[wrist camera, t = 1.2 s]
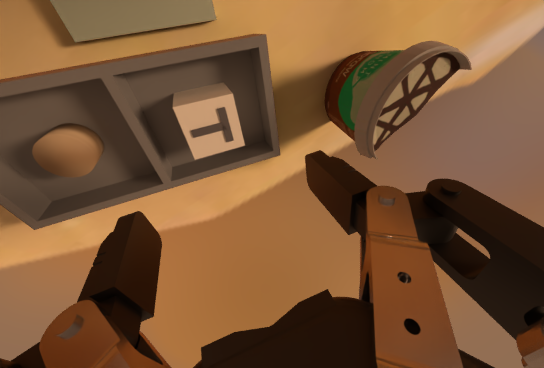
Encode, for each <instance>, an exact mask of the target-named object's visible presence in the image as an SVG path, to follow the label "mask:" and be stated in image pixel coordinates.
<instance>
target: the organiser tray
mask: <svg viewBox="0 0 544 368" xmlns="http://www.w3.org/2000/svg"><path fill="white" fill-rule="evenodd" d="M222 82H224V84H225V85H226V86H227V87H228V88H229V90H230V91H231V92H232V93H233V97H234V101H235V105H236V109H237V114H238V118H239V122H240V126H241V131H242V135H243V139H244V143H245V146H242V147H238V148H235V149H231V150H228V151H224V152H221V153H217V154H213V155H210V156H206V157H203V158H199V159H196V160H195V159H194V156H193V154H192V152H191V149H190V147H189V145H188V142H187V140H186V138H185V135H184V133H183V131H182V128H181V126H180V124H179V121H178V119H177V117H176V114H175V112H174V110H173V97H174V93H177V92H181V91H186V90H190V89H195V88H200V87H204V86H209V85H213V84H218V83H222ZM65 123H74V124H80V125H83V126H85V127H88V128H90V129H91V130H93V131H94V132H96V133H97V134H98V135H99V136H100V138H101V139H102V141H103V143H104V152H103V154H102V155H101V157H100V159H99V160H98V162H97V164H96V165H95V167H94V168H93V170H92V171H91V172H90V173H88V174H86V175H84V176H81V177H63V176H59V175H56V174H53V173H51V172H49V171H47V170H45V169H44V168H42V167H41V166H40V165H39V164H38V163H37V162H36V160H35V159H34V157H33V152H32V150H33V146H34V144H35V143H36V142H37V141H38V140H39V139H41V138H42V137H43V136H44V135H46V134H47V133H48V132H50V131H51V130H52V129H53V128H55V127H56V126H58V125H61V124H65ZM279 155H280V148H279V139H278V131H277V122H276V114H275V105H274V97H273V88H272V80H271V71H270V63H269V55H268V46H267V38H266V34H251V35H245V36H240V37H234V38H229V39H223V40H218V41H212V42H207V43H201V44H195V45H190V46H184V47H179V48H173V49H168V50H162V51H157V52H151V53H145V54H140V55H134V56H129V57H123V58H118V59H112V60H107V61H101V62H96V63H90V64H84V65H79V66H73V67H68V68H62V69H57V70H51V71H46V72H40V73H34V74H29V75H23V76H18V77H12V78H7V79H1V80H0V205H2V206H3V207H4V208H6V209H7V210H8V211H10V212H11V213H12V214H14V215H15V216H16V217H18V218H19V219H21V220H22V221H23V222H25V223H26V224H27V225H29V226H30V227H31V228H33V229H34V230H35V229H39V228H42V227H45V226H49V225H52V224H55V223H58V222H62V221H65V220H68V219H72V218H75V217H78V216H81V215H85V214H88V213H91V212H95V211H98V210H101V209H104V208H108V207H111V206H114V205H118V204H121V203H124V202H128V201H131V200H134V199H137V198H141V197H144V196H147V195H151V194H154V193H157V192H160V191H164V190H167V189H170V188H174V187H177V186H180V185H183V184H187V183H190V182H193V181H197V180H200V179H203V178H206V177H210V176H213V175H216V174H220V173H223V172H226V171H229V170H233V169H236V168H239V167H243V166H246V165H249V164H252V163H256V162H259V161H262V160H266V159H269V158H272V157H276V156H279Z"/></svg>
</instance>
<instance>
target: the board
mask: <svg viewBox="0 0 544 368" xmlns="http://www.w3.org/2000/svg"><path fill="white" fill-rule="evenodd" d="M50 1H51V3H52V5H53V6H54V8H55V10H56V11H57V13H58V15H59V16H60V18H61V20H62V21H63V23H64V25H65V26H66V28H67V30H68V31H69V33H70V35H71V36H72V38H73V39H74V41H75V42H82V41H88V40H94V39H101V38H107V37H113V36H119V35H126V34H132V33H138V32H144V31H150V30H157V29H163V28H169V27H175V26H181V25H188V24H194V23H200V22H206V21H213V20H216V15H215V11H214V7H213V2H212V0H50Z"/></svg>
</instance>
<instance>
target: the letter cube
mask: <svg viewBox="0 0 544 368" xmlns="http://www.w3.org/2000/svg"><path fill="white" fill-rule="evenodd" d="M173 110H174V112H175V114H176V117H177V119H178V121H179V124H180V126H181V128H182V131H183V133H184V135H185V138H186V140H187V142H188V145H189V147H190V149H191V152H192V154H193V156H194V159H195V160H196V159H199V158H203V157H206V156H210V155H213V154H217V153H221V152H224V151H228V150H231V149H235V148H238V147H242V146H245V143H244V139H243V135H242V131H241V126H240V122H239V118H238V114H237V109H236V105H235V101H234V97H233V93H232V92H231V91H230V90H229V88H228V87H227V86H226V85H225V84H224V82H222V83H218V84H213V85H209V86H204V87H200V88H195V89H190V90H186V91H181V92H177V93H174V97H173Z"/></svg>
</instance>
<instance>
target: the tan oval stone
mask: <svg viewBox="0 0 544 368" xmlns="http://www.w3.org/2000/svg"><path fill="white" fill-rule="evenodd" d="M32 152H33V157H34V159H35V160H36V162H37V163H38V164H39V165H40V166H41V167H42V168H44V169H45V170H47V171H49V172H51V173H53V174H56V175H59V176H63V177H81V176H84V175H86V174H88V173H90V172H91V171H92V170H93V168H94V167H95V165H96V164H97V162H98V160H99V159H100V157H101V155H102V154H103V152H104V143H103V141H102V139H101V138H100V136H99V135H98V134H97V133H96V132H94V131H93V130H91V129H90V128H88V127H85V126H83V125H80V124H74V123H65V124H61V125H58V126H56V127H55V128H53V129H52V130H51V131H50V132H48V133H47V134H46V135H44V136H43V137H42V138H41V139H39V140H38V141H37V142H36V143H35V144H34V146H33V150H32Z"/></svg>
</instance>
